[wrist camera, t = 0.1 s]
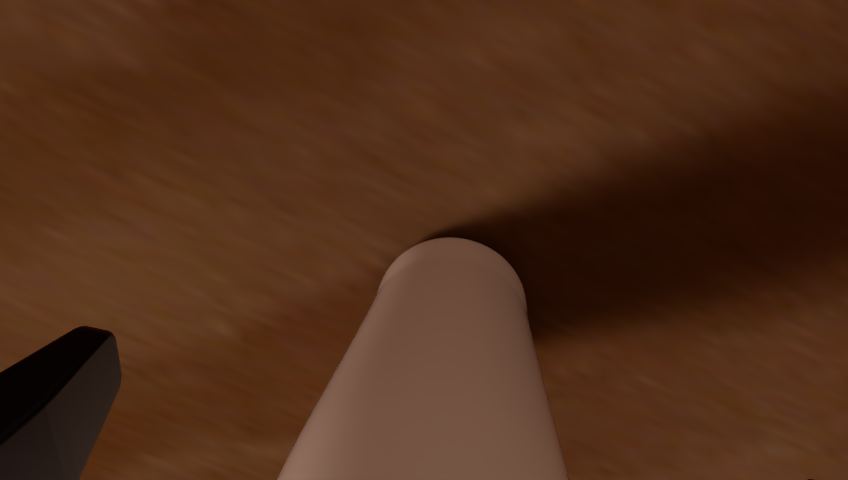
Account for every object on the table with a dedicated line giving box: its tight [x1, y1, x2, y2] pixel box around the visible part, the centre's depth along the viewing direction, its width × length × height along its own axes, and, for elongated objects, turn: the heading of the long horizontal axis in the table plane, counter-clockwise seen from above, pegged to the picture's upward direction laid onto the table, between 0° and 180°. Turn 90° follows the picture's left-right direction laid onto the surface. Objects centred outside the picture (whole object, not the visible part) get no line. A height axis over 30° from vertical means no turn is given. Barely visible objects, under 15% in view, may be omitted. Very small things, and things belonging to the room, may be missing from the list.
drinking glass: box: [277, 237, 569, 480], centre depth 19 cm, size 7×7×15 cm
